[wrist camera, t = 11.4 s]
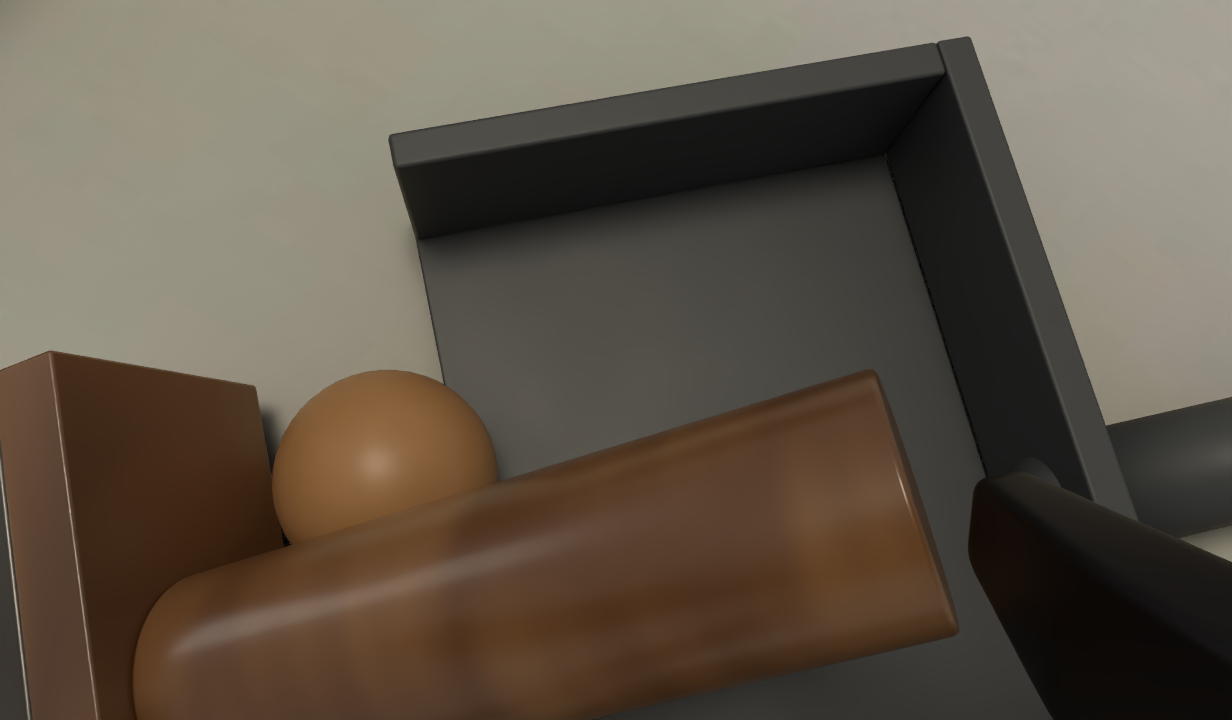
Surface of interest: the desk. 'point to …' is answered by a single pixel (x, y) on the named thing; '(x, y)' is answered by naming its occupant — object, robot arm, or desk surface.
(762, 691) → the dustpan
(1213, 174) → the desk surface
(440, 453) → the brown ball
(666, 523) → the scrub brush
